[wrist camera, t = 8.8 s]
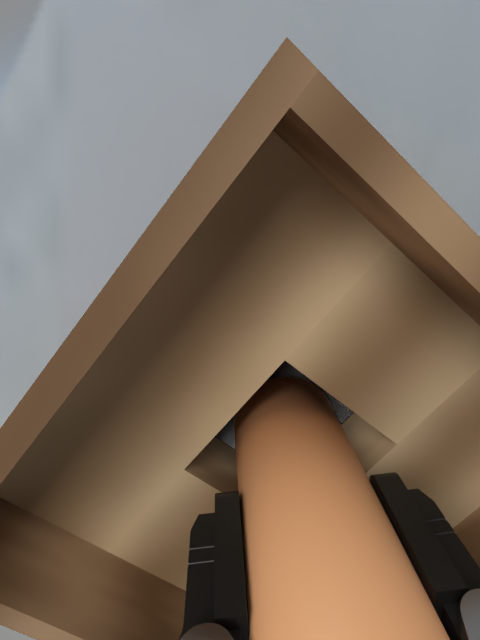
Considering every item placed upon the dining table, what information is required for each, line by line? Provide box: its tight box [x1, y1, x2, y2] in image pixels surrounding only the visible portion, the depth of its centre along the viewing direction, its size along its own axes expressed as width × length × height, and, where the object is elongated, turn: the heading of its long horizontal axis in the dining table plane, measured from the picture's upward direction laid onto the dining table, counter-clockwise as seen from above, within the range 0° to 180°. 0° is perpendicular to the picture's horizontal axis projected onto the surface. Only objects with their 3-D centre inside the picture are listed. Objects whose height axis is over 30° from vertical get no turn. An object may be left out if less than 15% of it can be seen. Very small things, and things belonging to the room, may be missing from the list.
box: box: [0, 38, 480, 640], centre depth 14 cm, size 17×17×6 cm
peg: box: [234, 377, 450, 640], centre depth 10 cm, size 4×4×12 cm
